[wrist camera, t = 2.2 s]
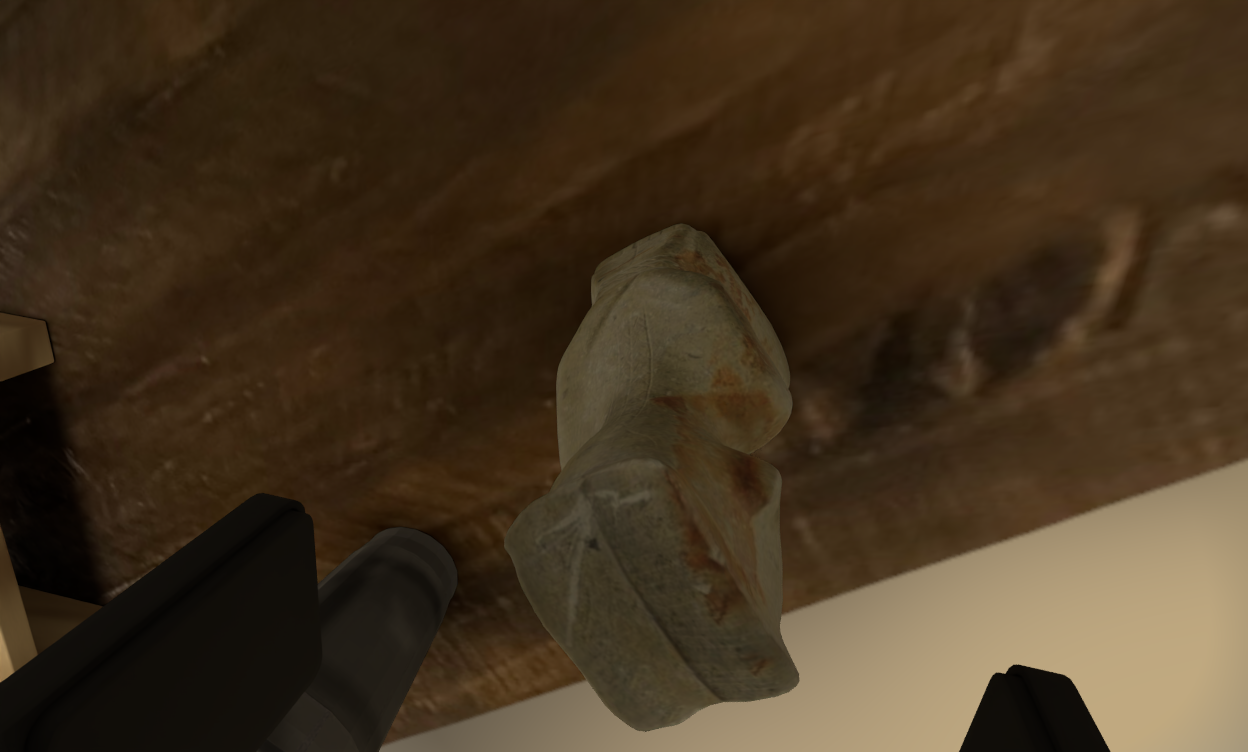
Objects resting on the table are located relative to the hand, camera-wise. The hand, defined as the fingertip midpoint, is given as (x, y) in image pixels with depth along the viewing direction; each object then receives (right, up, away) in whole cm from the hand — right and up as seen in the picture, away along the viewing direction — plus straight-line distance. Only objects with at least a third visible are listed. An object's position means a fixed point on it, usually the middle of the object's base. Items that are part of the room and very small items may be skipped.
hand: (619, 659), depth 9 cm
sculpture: (+3, +6, +15) cm, 16 cm away
